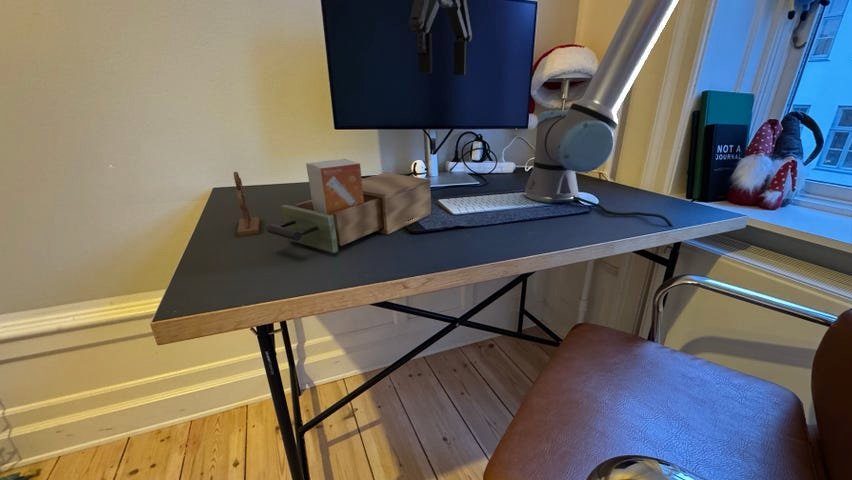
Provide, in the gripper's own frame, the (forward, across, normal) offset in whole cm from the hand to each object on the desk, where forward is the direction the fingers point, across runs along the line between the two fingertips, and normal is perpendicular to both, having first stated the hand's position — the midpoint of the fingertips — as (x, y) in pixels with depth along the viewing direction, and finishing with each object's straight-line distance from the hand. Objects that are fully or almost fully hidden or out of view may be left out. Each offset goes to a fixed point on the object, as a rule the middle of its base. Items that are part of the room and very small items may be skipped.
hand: (443, 74), depth 78 cm
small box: (+29, -25, +9) cm, 39 cm away
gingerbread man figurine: (+31, -32, +30) cm, 54 cm away
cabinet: (+31, -11, +9) cm, 34 cm away
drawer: (+30, -28, +9) cm, 42 cm away
